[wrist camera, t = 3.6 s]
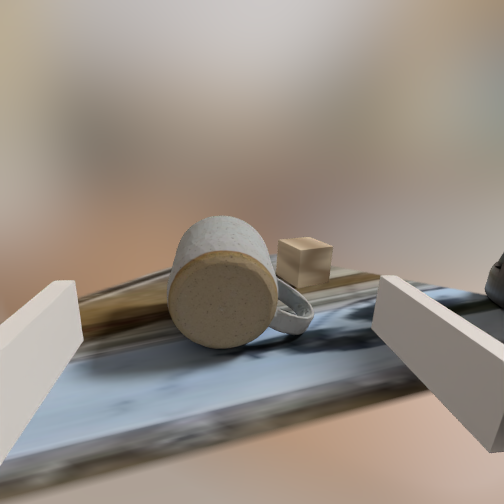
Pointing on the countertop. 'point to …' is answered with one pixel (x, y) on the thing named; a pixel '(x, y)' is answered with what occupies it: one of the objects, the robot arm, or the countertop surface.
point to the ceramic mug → (229, 287)
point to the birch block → (304, 261)
